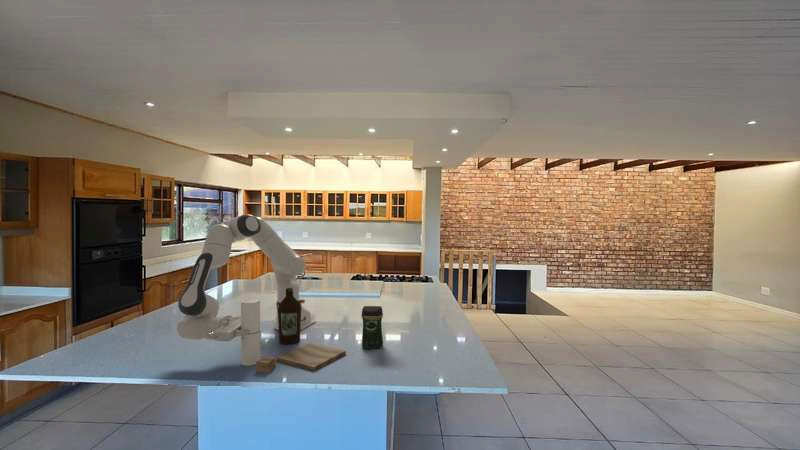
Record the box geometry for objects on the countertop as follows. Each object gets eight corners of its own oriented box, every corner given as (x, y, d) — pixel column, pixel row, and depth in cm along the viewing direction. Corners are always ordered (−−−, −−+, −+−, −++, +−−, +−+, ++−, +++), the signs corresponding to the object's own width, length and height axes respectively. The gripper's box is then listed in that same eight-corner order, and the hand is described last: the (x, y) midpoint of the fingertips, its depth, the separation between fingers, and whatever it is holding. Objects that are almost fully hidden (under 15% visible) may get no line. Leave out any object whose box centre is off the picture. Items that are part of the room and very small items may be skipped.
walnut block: (264, 366, 150) (264, 356, 150) (275, 368, 149) (275, 357, 149) (256, 371, 145) (256, 361, 145) (268, 373, 144) (268, 362, 144)
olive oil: (278, 338, 183) (278, 286, 182) (301, 336, 186) (301, 285, 185) (276, 345, 173) (276, 291, 172) (301, 344, 175) (300, 290, 174)
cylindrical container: (253, 366, 150) (253, 303, 149) (237, 364, 151) (237, 302, 150) (263, 359, 157) (263, 299, 156) (248, 358, 158) (247, 298, 157)
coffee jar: (383, 344, 176) (384, 304, 175) (381, 350, 168) (382, 308, 167) (363, 343, 176) (363, 303, 176) (360, 349, 168) (360, 308, 168)
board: (310, 346, 173) (310, 342, 173) (345, 354, 163) (345, 350, 163) (276, 360, 155) (276, 357, 155) (313, 370, 146) (313, 367, 146)
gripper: (205, 328, 143) (241, 329, 143) (230, 314, 164) (262, 314, 164) (205, 345, 144) (241, 345, 143) (230, 328, 164) (262, 329, 164)
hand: (252, 329), depth 154 cm, fingers closed on cylindrical container, 7 cm apart
